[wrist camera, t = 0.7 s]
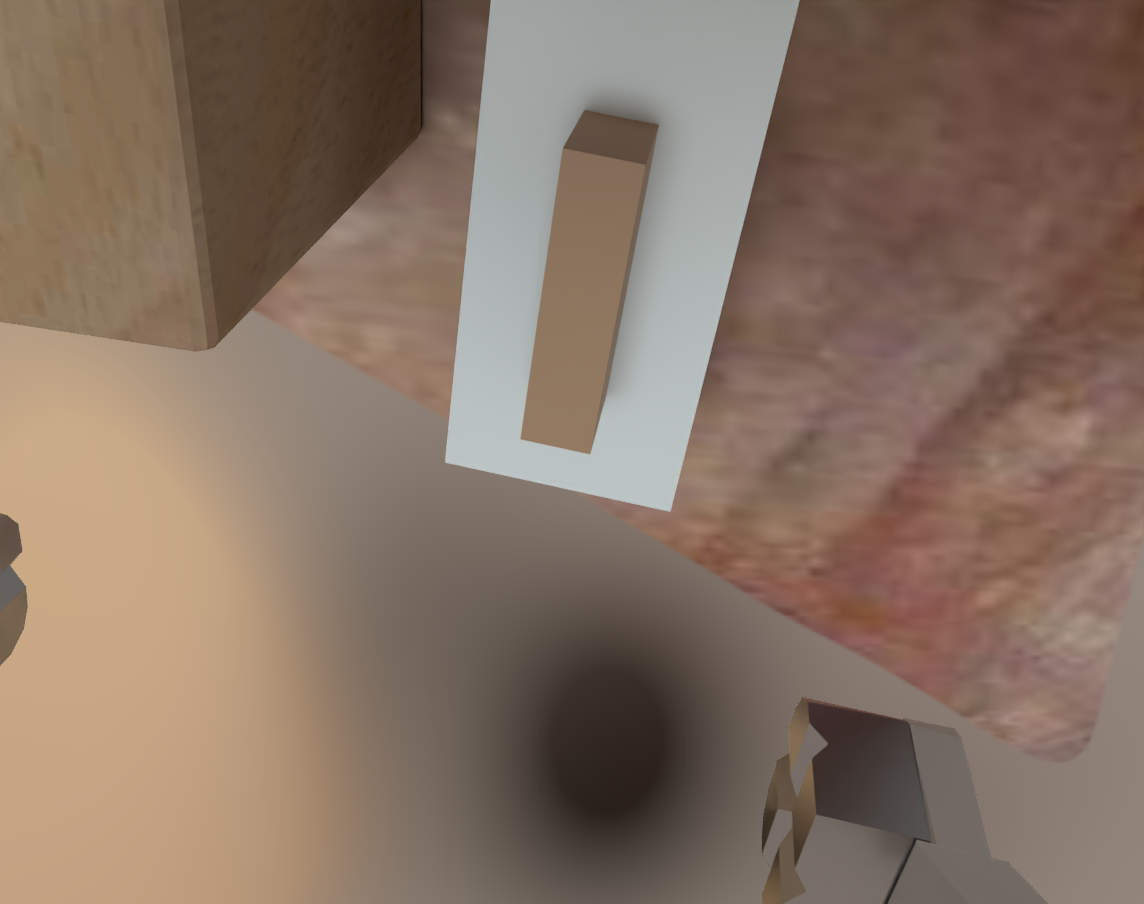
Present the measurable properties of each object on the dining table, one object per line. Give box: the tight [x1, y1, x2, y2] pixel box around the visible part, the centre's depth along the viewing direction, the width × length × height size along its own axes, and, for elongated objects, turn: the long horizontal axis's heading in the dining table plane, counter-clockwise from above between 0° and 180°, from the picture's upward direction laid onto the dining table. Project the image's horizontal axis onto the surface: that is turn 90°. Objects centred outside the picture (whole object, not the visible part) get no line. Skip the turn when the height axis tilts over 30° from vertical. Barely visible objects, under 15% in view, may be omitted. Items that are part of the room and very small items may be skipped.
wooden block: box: [0, 0, 421, 351], centre depth 34 cm, size 10×10×20 cm
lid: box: [445, 0, 800, 512], centre depth 35 cm, size 19×9×6 cm, turn 171°
